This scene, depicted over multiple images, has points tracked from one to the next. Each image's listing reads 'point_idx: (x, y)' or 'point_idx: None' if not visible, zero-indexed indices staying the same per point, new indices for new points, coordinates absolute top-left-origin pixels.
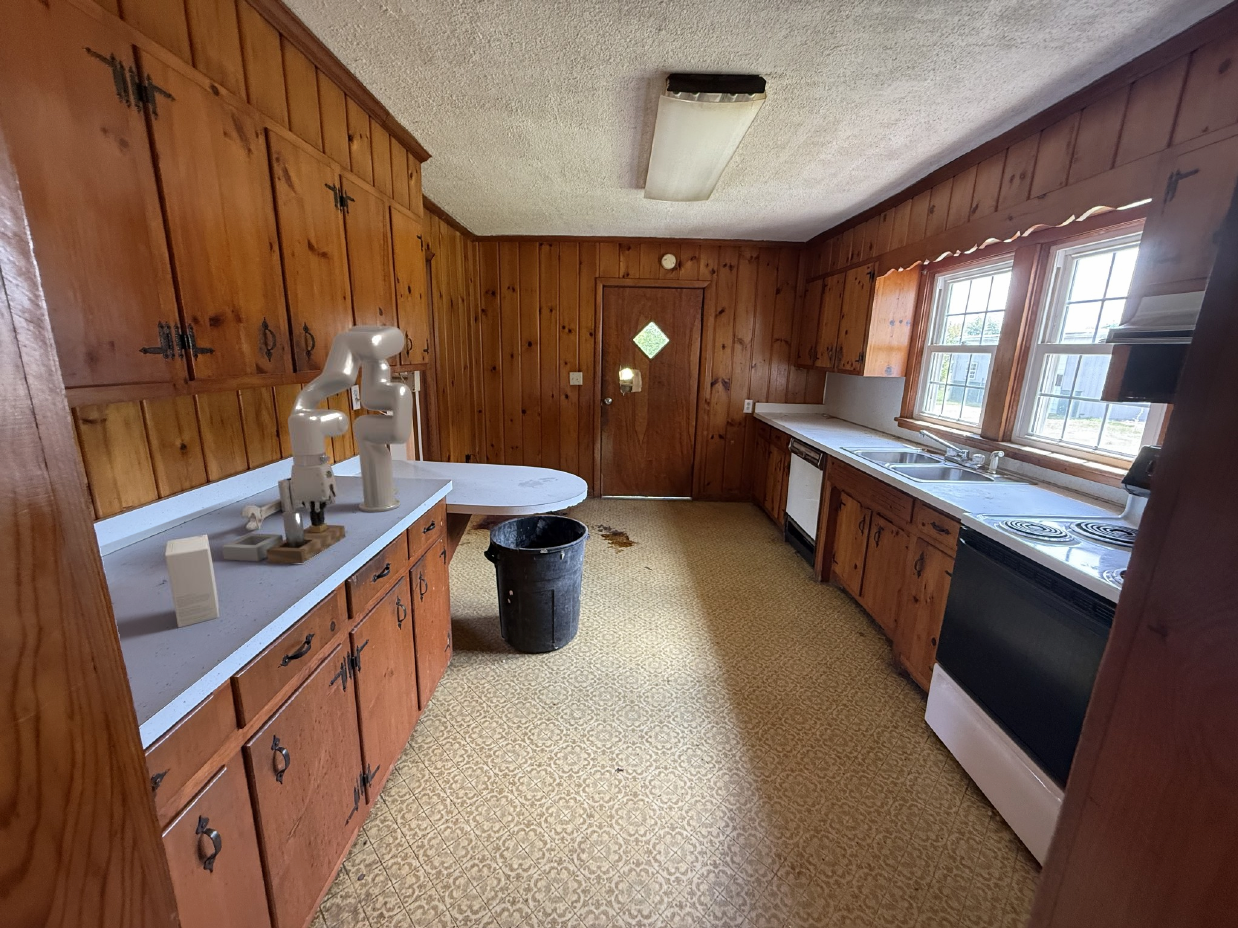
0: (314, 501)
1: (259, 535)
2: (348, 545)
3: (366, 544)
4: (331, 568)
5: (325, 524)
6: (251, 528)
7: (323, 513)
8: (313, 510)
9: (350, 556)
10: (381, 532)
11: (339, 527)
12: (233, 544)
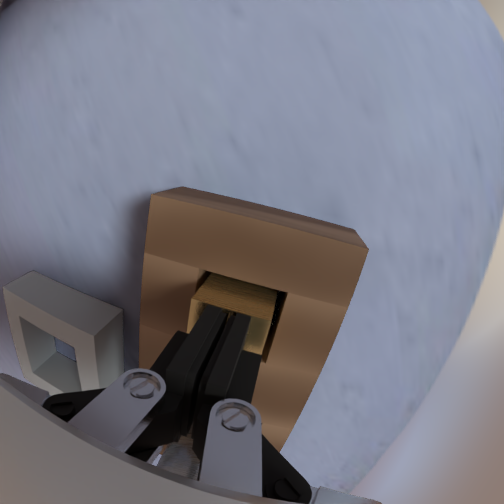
0: (124, 446)
1: (33, 318)
2: (388, 338)
3: (453, 333)
4: (355, 469)
5: (268, 330)
6: None
7: (252, 394)
8: (177, 435)
9: (401, 421)
10: (499, 192)
11: (345, 281)
12: (33, 374)
